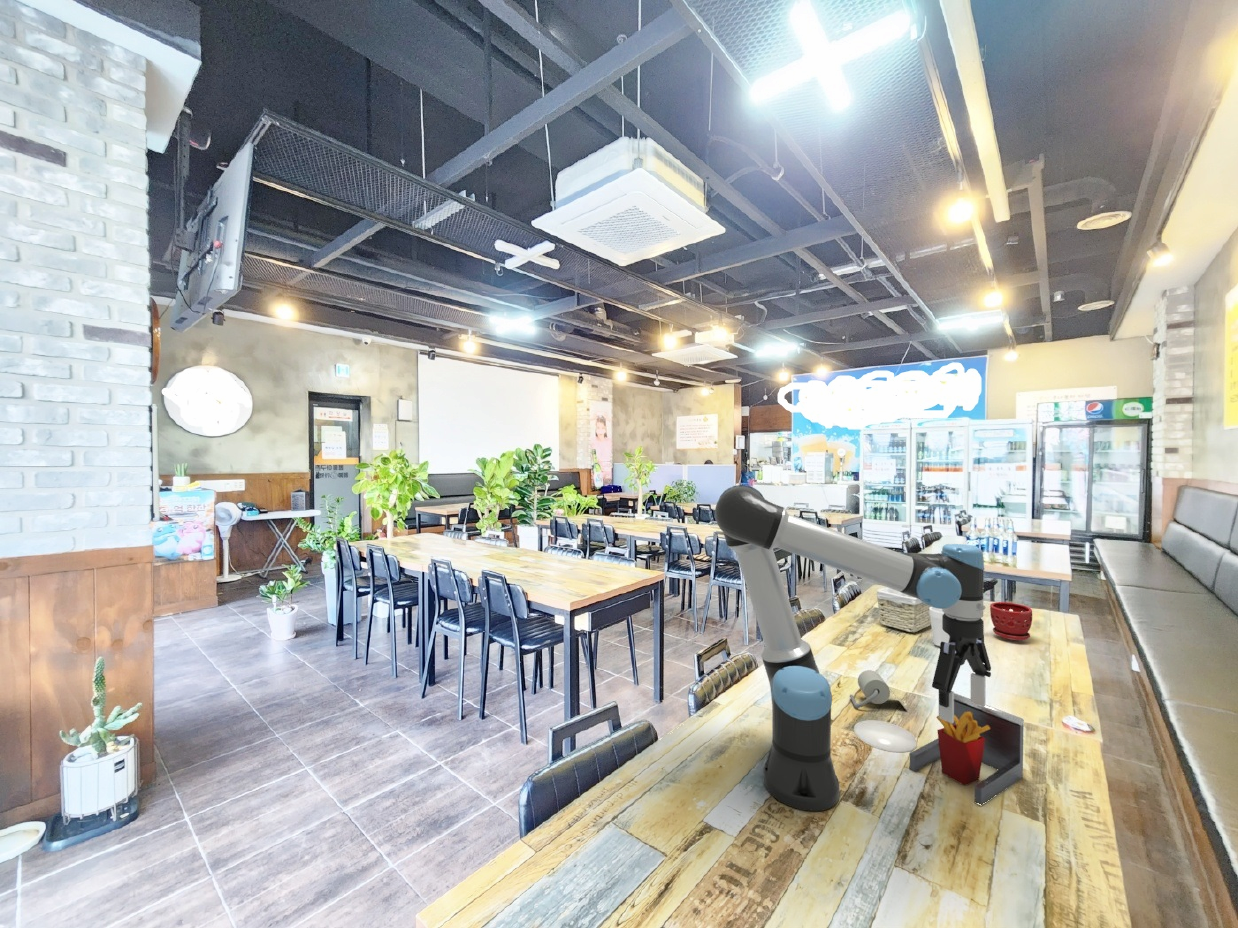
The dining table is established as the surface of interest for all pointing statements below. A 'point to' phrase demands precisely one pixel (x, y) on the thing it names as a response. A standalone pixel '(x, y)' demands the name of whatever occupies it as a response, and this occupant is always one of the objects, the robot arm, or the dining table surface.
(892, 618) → the storage basket
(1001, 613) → the plant pot
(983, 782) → the gray bracket
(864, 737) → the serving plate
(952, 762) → the french fries
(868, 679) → the toilet paper roll
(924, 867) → the dining table surface
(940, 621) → the foam cup
